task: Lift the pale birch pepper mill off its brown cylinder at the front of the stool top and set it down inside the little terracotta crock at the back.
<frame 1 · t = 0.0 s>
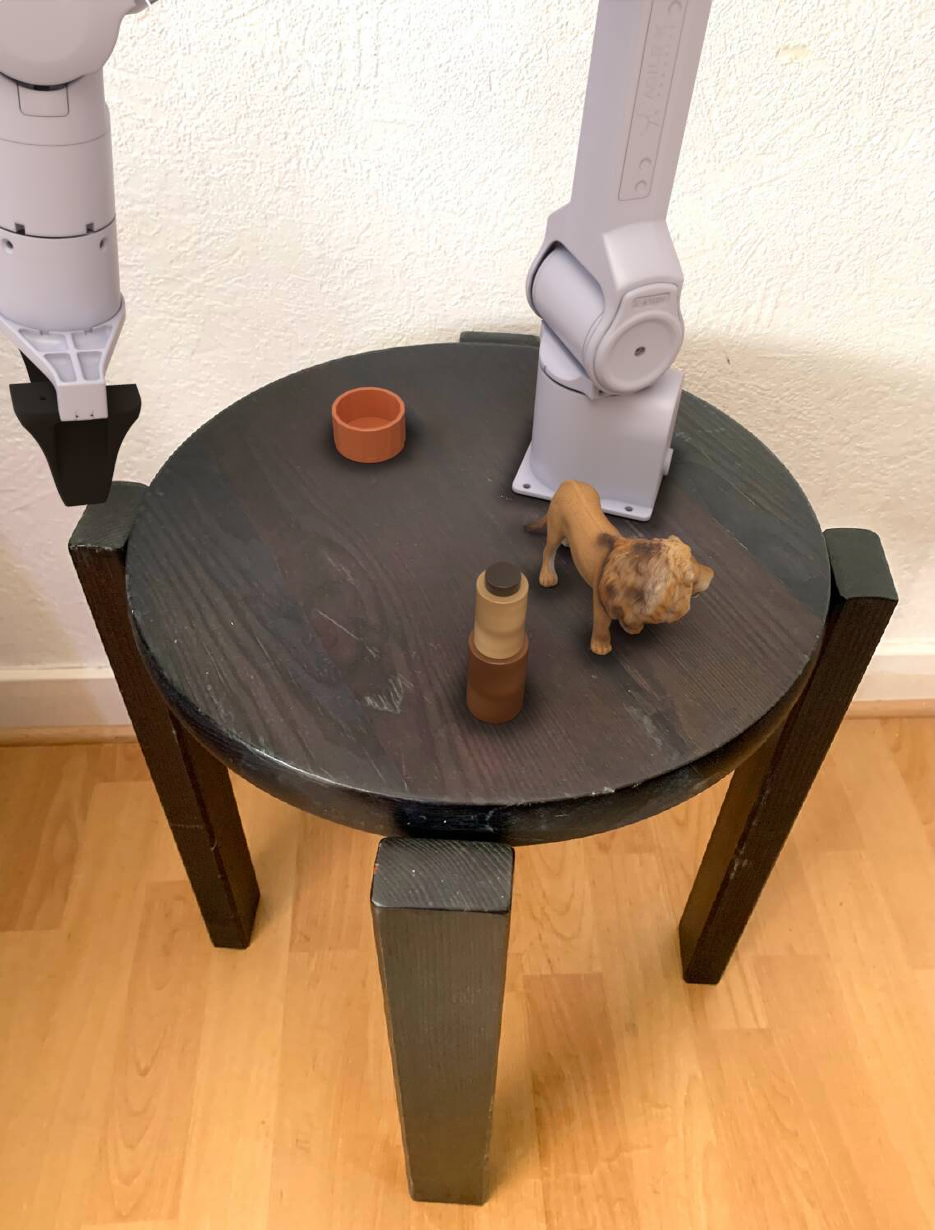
hand: (73, 456, 56), 11 cm above the table, tool pointing down, fingers open, 7 cm apart
pepper mill: (498, 640, 55), point 5 cm above the table, touching brown cylinder
lion figurine: (599, 606, 64), on the table
terracotta crock: (370, 440, 74), on the table
brown cylinder: (494, 701, 59), on the table
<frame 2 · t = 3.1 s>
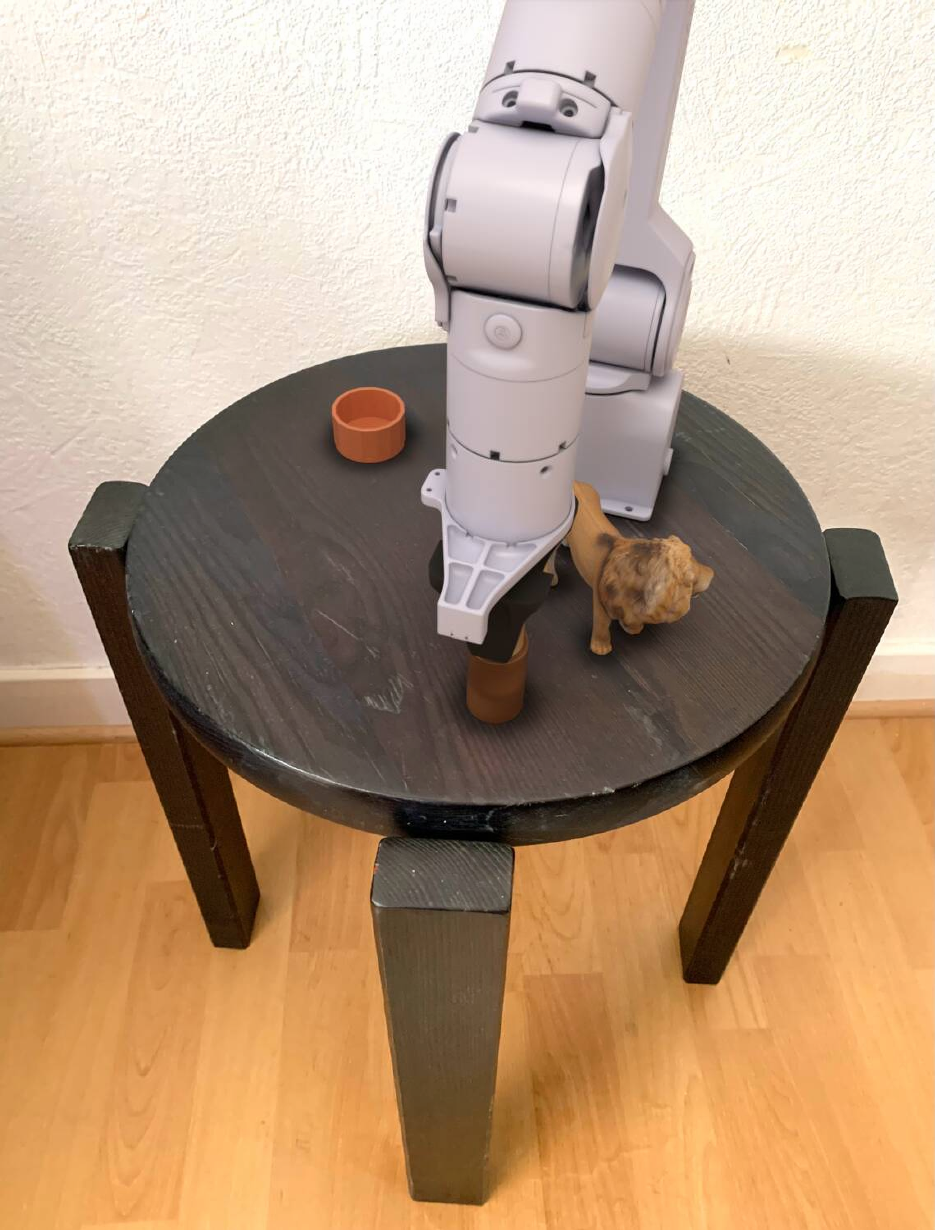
hand: (499, 631, 54), 6 cm above the table, tool pointing down, fingers closed on pepper mill, 2 cm apart
pepper mill: (498, 640, 55), point 5 cm above the table, touching gripper, brown cylinder
everything else where it was.
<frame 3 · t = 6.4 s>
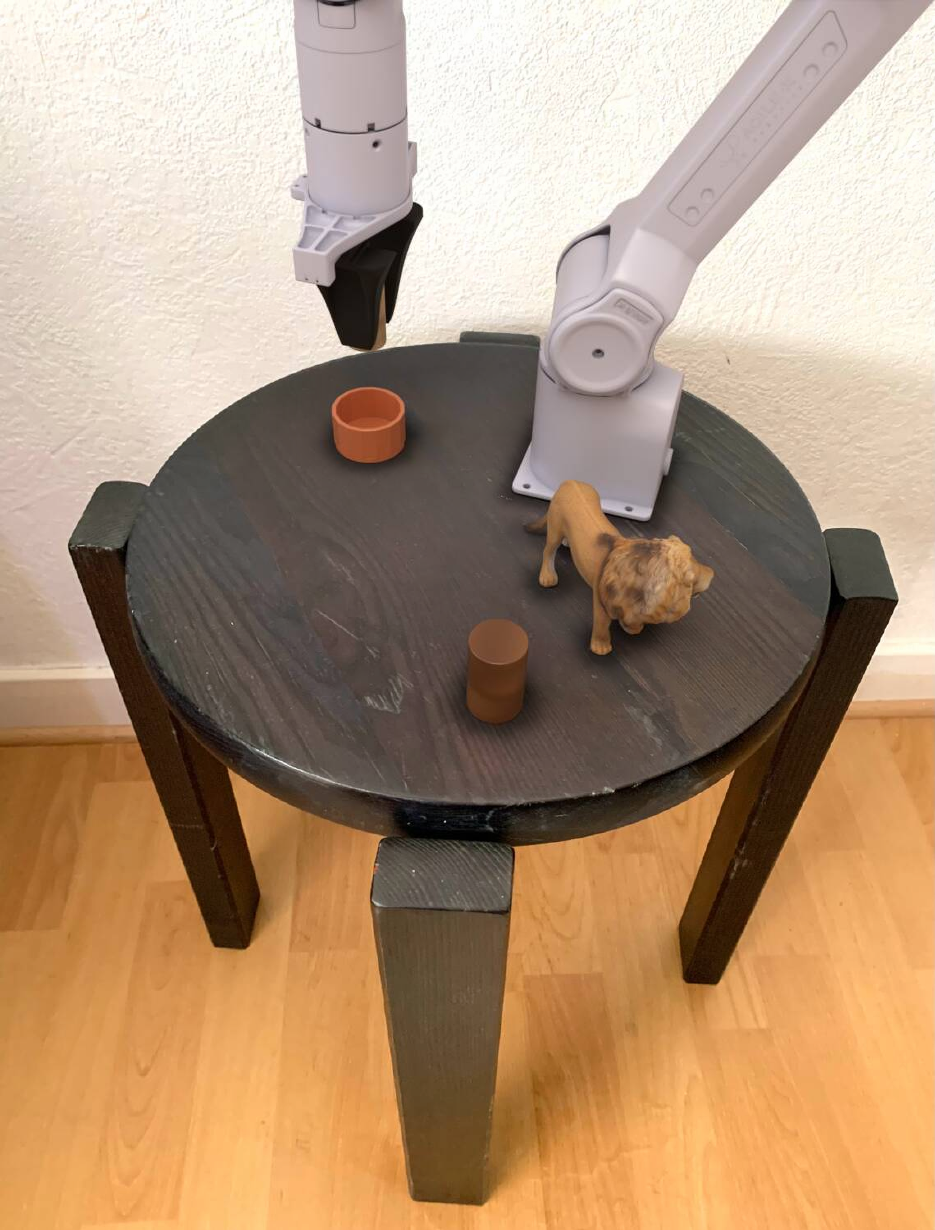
hand: (366, 331, 66), 9 cm above the table, tool pointing down, fingers closed on pepper mill, 2 cm apart
pepper mill: (366, 340, 67), point 9 cm above the table, touching gripper
everything else where it was.
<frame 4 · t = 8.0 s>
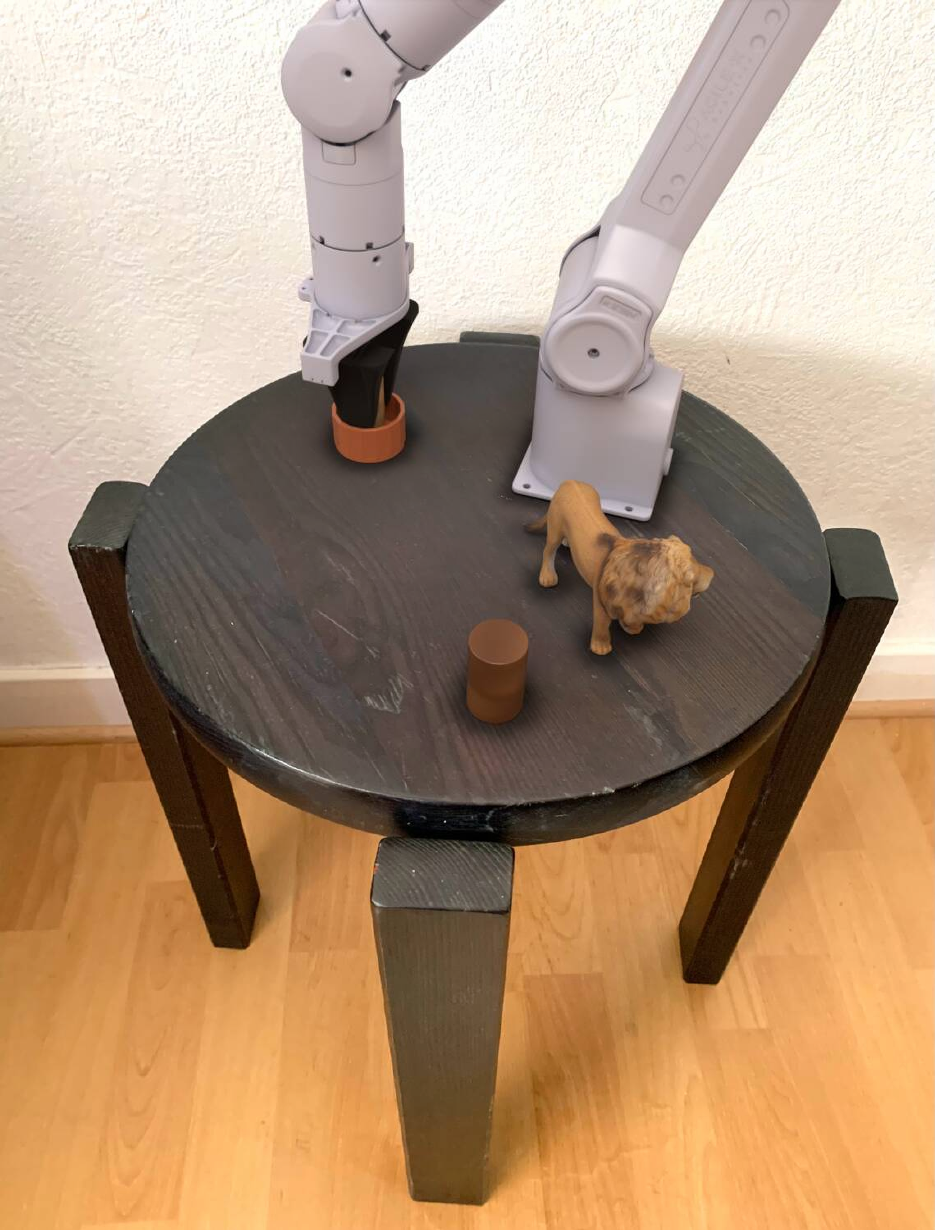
hand: (367, 413, 72), 2 cm above the table, tool pointing down, fingers closed on pepper mill, terracotta crock, 2 cm apart
pepper mill: (366, 421, 73), point 2 cm above the table, touching gripper
everything else where it was.
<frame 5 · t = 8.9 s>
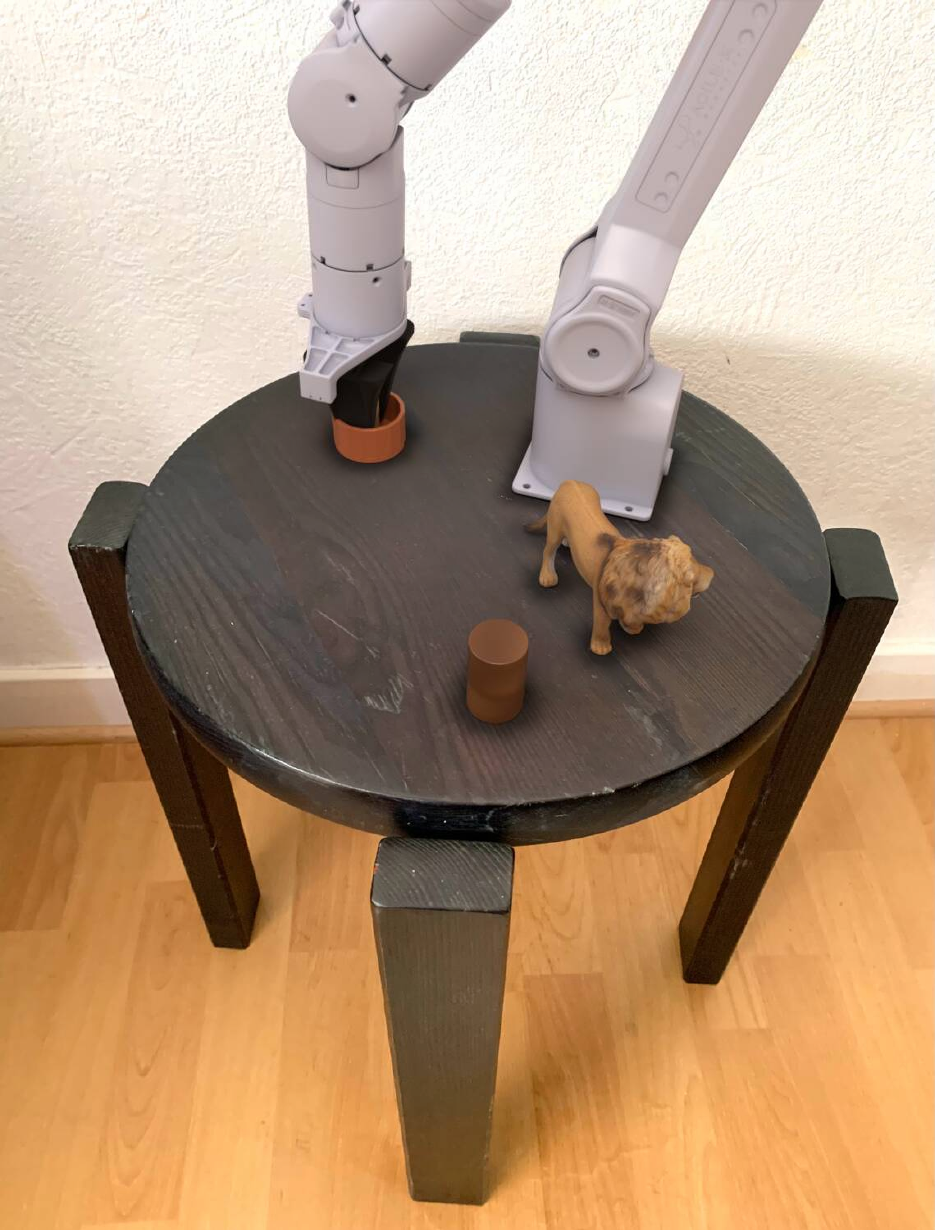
hand: (362, 427, 73), 1 cm above the table, tool pointing down, fingers closed, pressing on pepper mill, terracotta crock
pepper mill: (361, 434, 74), resting on terracotta crock, touching gripper
everything else where it was.
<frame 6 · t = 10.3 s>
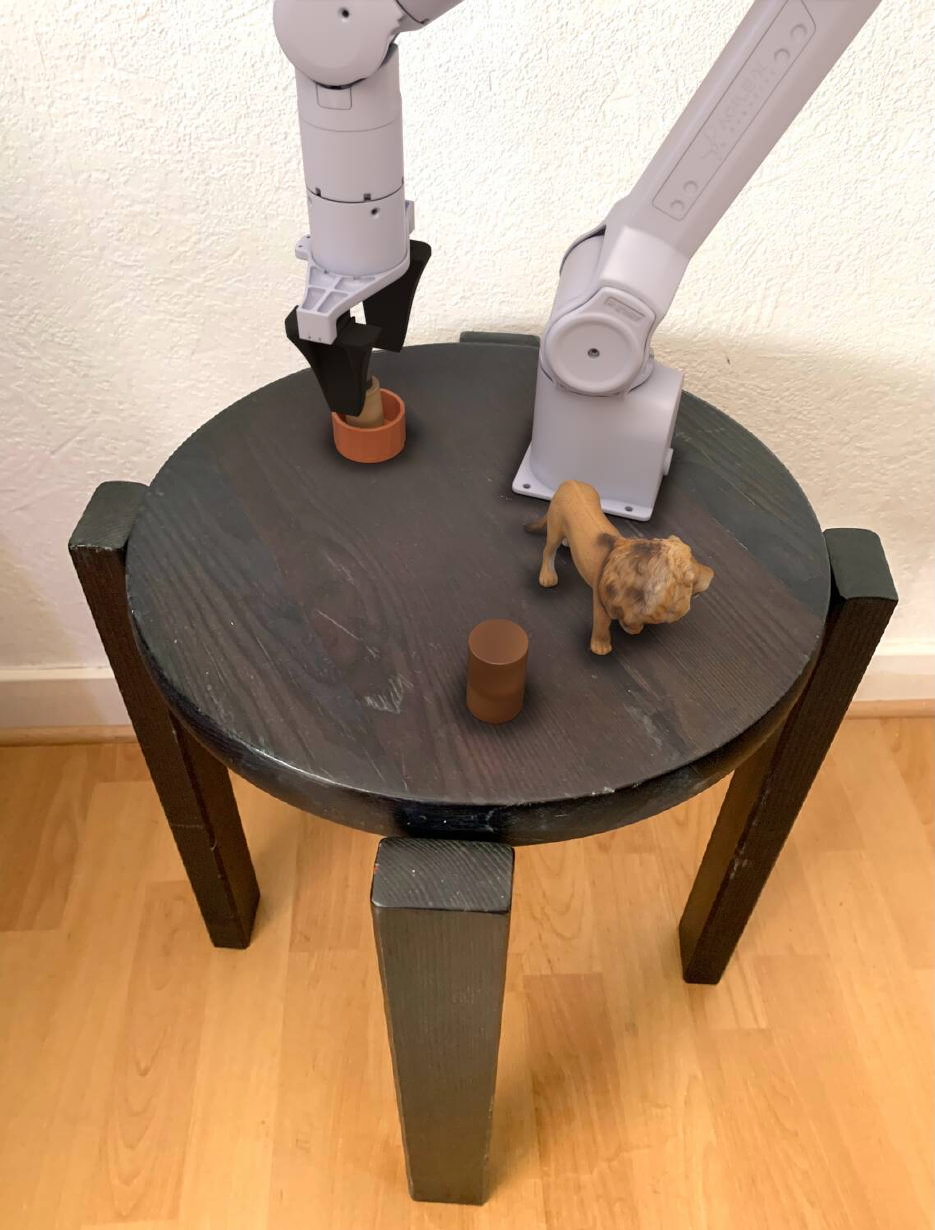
hand: (367, 378, 70), 5 cm above the table, tool pointing down, fingers open, 7 cm apart
pepper mill: (367, 435, 74), resting on terracotta crock
everything else where it was.
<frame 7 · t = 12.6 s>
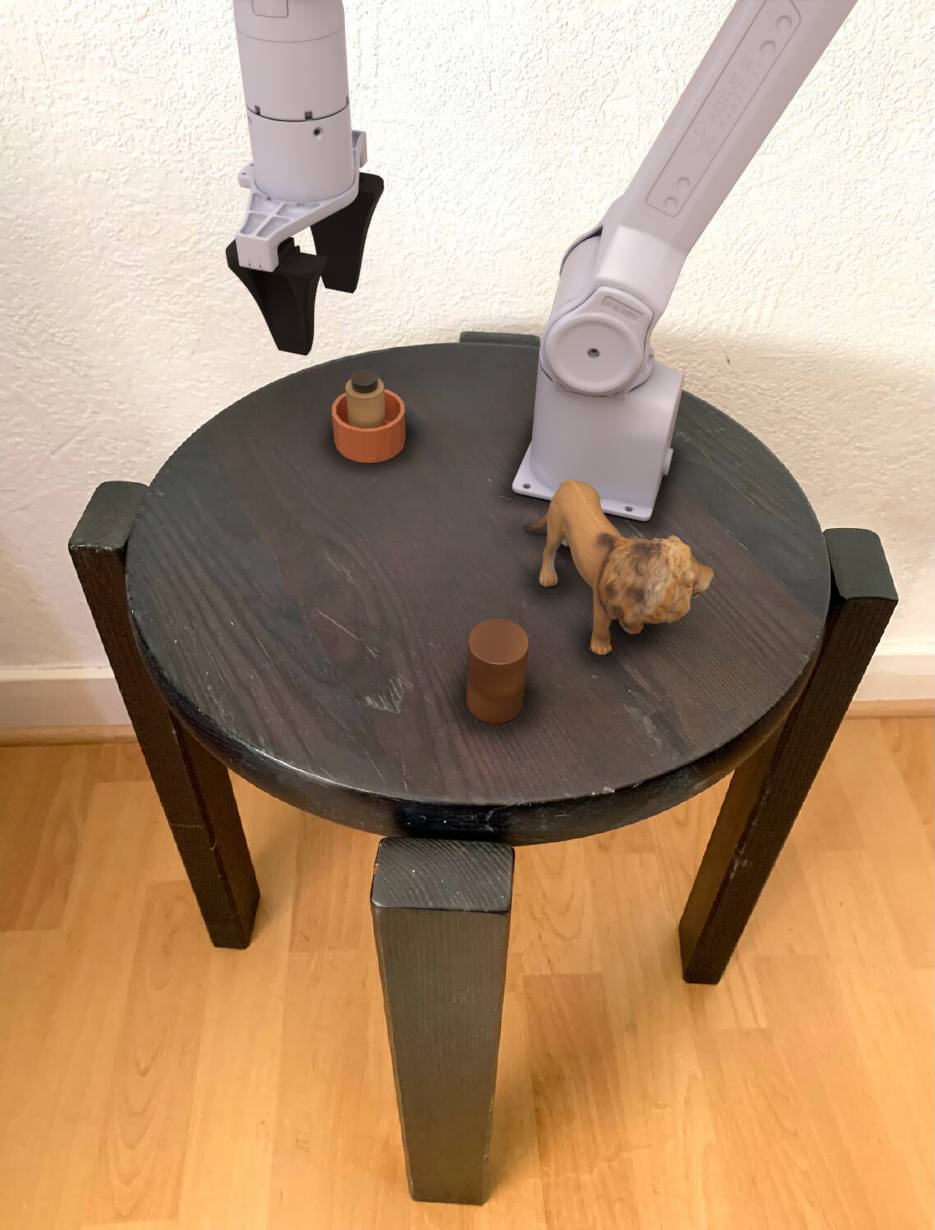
hand: (318, 318, 67), 9 cm above the table, tool pointing down, fingers open, 7 cm apart
nothing on the table moved.
at the end: pepper mill 0.1 cm off-centre in the terracotta crock, point 0.4 cm above the terracotta crock's base; the gripper is holding nothing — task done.
